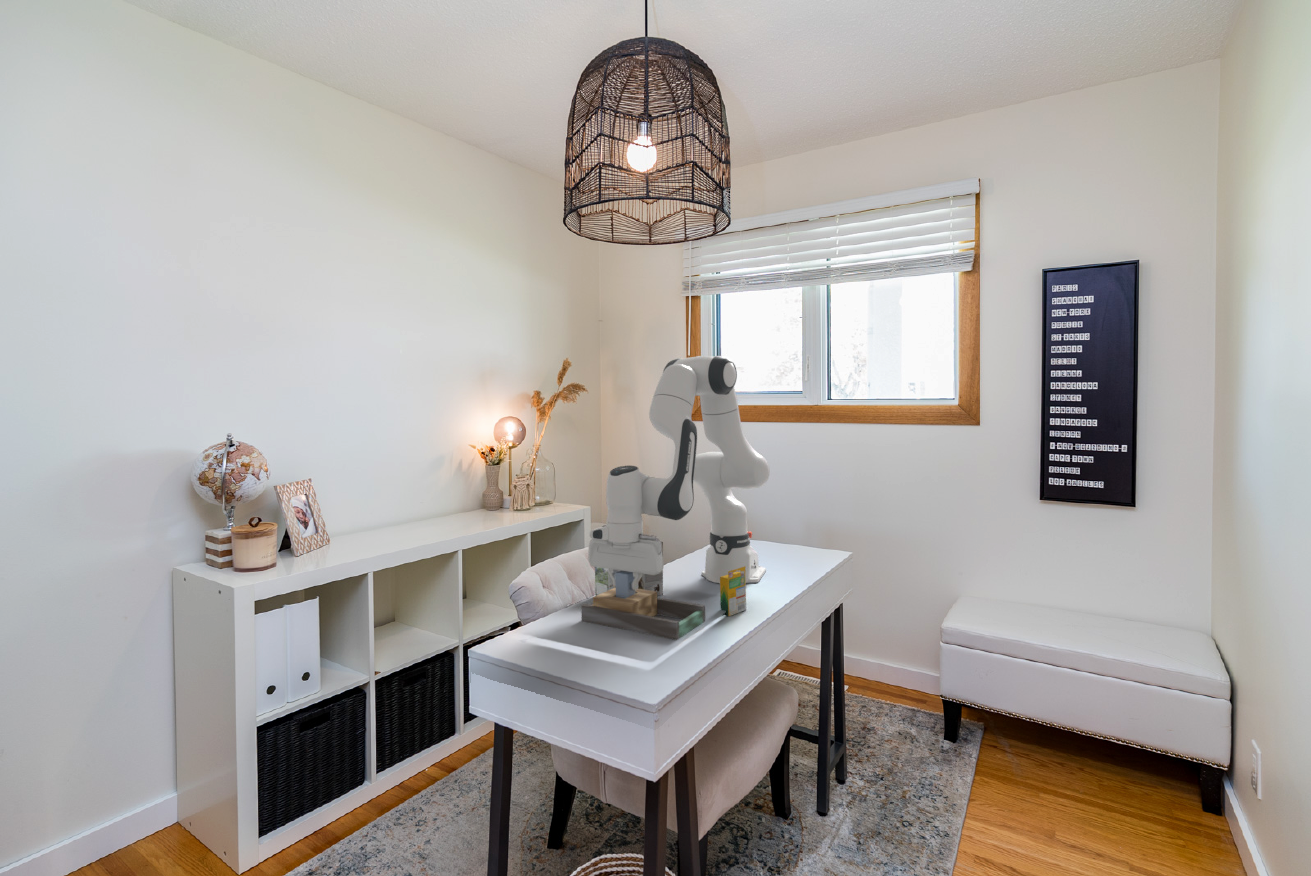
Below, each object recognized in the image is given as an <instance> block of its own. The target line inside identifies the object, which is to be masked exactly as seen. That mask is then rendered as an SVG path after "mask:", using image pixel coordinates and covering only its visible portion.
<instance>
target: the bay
mask: <svg viewBox="0 0 1311 876" xmlns="http://www.w3.org/2000/svg"><path fill="white" fill-rule="evenodd" d="M580 607H581V622H584V623H590V624H593V625H598V626H599V625H600V626H605V627H610V628H613V629H614V628H615V629H620V630H625V631H630V632H633V633H634V632H636V633H638V634H639V633H640V634H646V635H648V636H655V637H660V638H664V639H665V638H666V639H669V640H674V641H677V640H679V639H681V638H682V637H683V636H684V635H686V634H688V633H689V632H691V631H692V630H694V629H695V628H697V627H699V626H700V625H702V624H703V623H705V621H706V605H704V604H699V603H692V602H688V601H681V600H676V599H675V600H674V599H669V598H668V599H667V598H662V597H657V615H659V616H664V617H670V618H675V619H682V620H680V621H679V620H672V619H668V618H664V617H663V618H662V617H658V616H657V617H656V616H654V617H652V616H646V615H641V614H635V613H630V612H625V611H619V610H614V609H608V608H603V607H597V606H593V603H592V604H581V606H580Z"/></svg>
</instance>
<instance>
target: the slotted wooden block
mask: <svg viewBox="0 0 1311 876" xmlns="http://www.w3.org/2000/svg"><path fill="white" fill-rule="evenodd" d="M657 598H658V596H657V592H656V591H649V590H643V589H637V590H635V594H634V595H632V596H630V597H628V598H626V599H624V598H618V597H616V587H615V588H613V589H610V590H608V591H606V592H604V593H601V594H599V595H597V596H596V595H594V596H593V597H592V604H593V606H597V607H603V608H608V609H614V610H619V611H625V612H630V613H635V614H641V615H646V616H652V617H656V616H657V615H658V614H657Z"/></svg>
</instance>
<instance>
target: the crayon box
mask: <svg viewBox="0 0 1311 876" xmlns="http://www.w3.org/2000/svg"><path fill="white" fill-rule="evenodd" d="M739 570H740V571H741V572H736V571H739ZM733 572H734V573H733ZM745 572H746V570H745V566H744V567H741V568H738V569H734V570H731V571H728V575H725V576H721V577H720V583H719V597H720V601H719V602H720V611H723V613H722V614H721V616H722V615H723V616H724V617H725V616H726V617H731V616H733V615H736V614H738V613H741V612H744V611H746V610H747V592H746V591H747V590H746V589H747V587H746V584H747V583H746V579H745Z"/></svg>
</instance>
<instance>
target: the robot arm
mask: <svg viewBox="0 0 1311 876" xmlns="http://www.w3.org/2000/svg"><path fill="white" fill-rule="evenodd" d="M737 373H738V372H737V367H736V364H735V363H734V362H733V360H732V359H731V358H730V357H727V356H723V355H716V356H711V355H696V356H692V357H684V358H681V357H680V358H675V359H672V360H670V361H668V362H667V364H666V365H665V366H664V368H663V371H662V374H661V376H660V378H659V380H658V383H657V384H656V388H655V391H654V392H653V396H652V400H651V403H650V407H649V412H648V413H649V414H648V415H649V421H650V423H651V424H652V426H653V428H654V429H655V430H656V431H657V432H658V433H660V434H662V435H663V436H665V437H667V438H669V439H670V440H672V441H673V443H674V447H675V448H674V456H673V462H672V463H673V465H672V472H671V474H670V476H669V477H668V478H665V477H663V478H662V477H655V476H649V475H646V474H644V473H643V472H642V471H640V469H639V467H638V466H636V465H622V466H616V467H614V468H612V469H611V470H610V471H609V473H608V476H607V480H606V490H605V492H606V493H605V494H606V495H605V496H606V498H605V501H606V507H607V517H606V524H604V525H602V526H599V527H596V528H594V529H591V530H590V531H589V537H590V539H591V540H590V541H589V542H588V543H589V544H588V552H587V553H588V554H587V558H588V563H589V565H590V566H591V567H594V568H595V567H600V568H607V569H609V574H610V576H611V578H612V580H613V587H616V578H615V573H616V572H618V570H621V571H628V572H633V577H635V578H634V580H633V581H632V582H630V589H631V590H637V589H638V582H639V580H640V579H641V577H642V574H648V575H657V574H659V573H661V572H662V570H663V571H664V569H665V568H664V555H663V556H662V543H661V542H662V541H661V539H660V538H658V537H657V536H656V535H654V534H653V535H649V534H644V533H643V532H644V530H643V529H644V528H643V527H644V526H643V525H644V524H643V521H644V520H643V515H647V516H654V517H661V518H665V519H669V520H673V521H680V520H681V519H683V518H685V516H687V515H688V514H689V512H690V511H692V508H693V505H694V501H695V499H694V497H695V495H694V483H695V484H696V485H698V486H699V488H700V489H701V490H702V492H703V493H704V496H705V497H706V499H707V503H708V506H709V512H710V532H709V538H708V539H709V545H710V546H709V547H708V548H707V549H706V552H705V565H704V570H702V571H701V576H703V577H705V578H706V580H708V581H710V582H712V583H716V584H720V577H721V576H725V575H728V571H731V570H734V569H738V568H741V567H744V566H745V570H746V572H745V579H746V584H748V583H759V581H761V579H762V578H763V576H764V575H765V573H766V572H767V568H766V567H764V566H761V565H759V554H758V552H757V551H756V550H755V549H754V547H753V546H751V539H752V538H753V532H752V531H748V510H747V507H746V505H745V504H744V503H743V502H742V501H740V500H738V499H737V498H736V497H735V496H734V493H733V491H732V489H733V490H734V489H737V490H753V489H754V490H755V489H758V488H759V489H760V488H762V487H764V486H765V484H766V483H767V482H768V480H769V477H770V465H769V462H768V461H767V459H766V457H765V456H763V455H761V454H760V453H758V452H757V450H756V449H754V447H752V445H751V444H750V443H749V440H748V439H747V438H746V435H745V433H744V431H743V425H742V422H741V415H740V408H739V402H738V399H737V393H736V389H735V385H736V383H737V377H738V374H737ZM696 397H699V399H700V402H699V403H700V410H701V416H702V417H701V418H702V424H703V429H704V435H705V437H706V439H707V441H709V442H710V443H711V444H714V445H715V446H716V447H718V448H719V449H720V451H707V452H702V453H698V454H697V448H698V447H697V446H698V429H697V425H696V424H695V422H693V420H692V413H693V408H694V403H695V399H696ZM736 572H741V571H740V570H739V571H736ZM733 573H734V572H733ZM761 577H762V578H761Z"/></svg>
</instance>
